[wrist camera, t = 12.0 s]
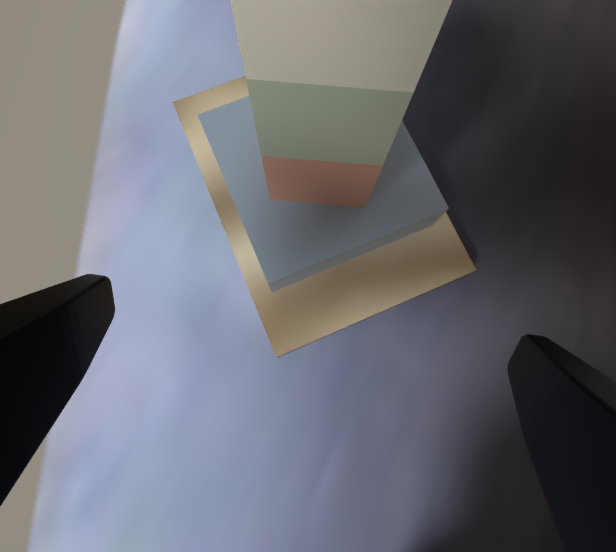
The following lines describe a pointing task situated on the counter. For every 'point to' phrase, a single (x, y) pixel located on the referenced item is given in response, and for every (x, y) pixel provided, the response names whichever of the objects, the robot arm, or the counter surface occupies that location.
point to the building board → (332, 282)
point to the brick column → (331, 88)
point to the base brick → (318, 217)
